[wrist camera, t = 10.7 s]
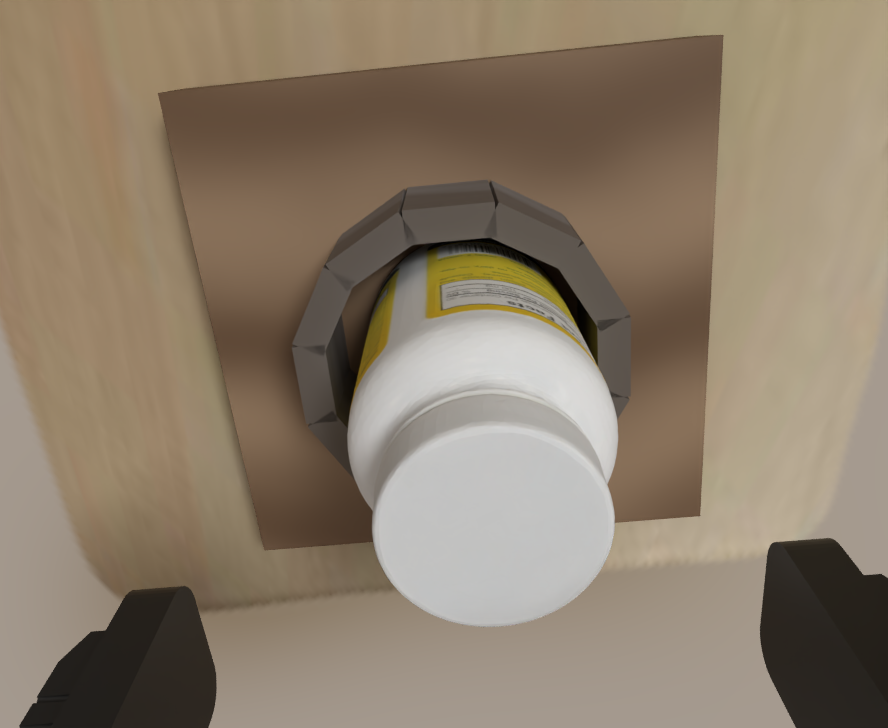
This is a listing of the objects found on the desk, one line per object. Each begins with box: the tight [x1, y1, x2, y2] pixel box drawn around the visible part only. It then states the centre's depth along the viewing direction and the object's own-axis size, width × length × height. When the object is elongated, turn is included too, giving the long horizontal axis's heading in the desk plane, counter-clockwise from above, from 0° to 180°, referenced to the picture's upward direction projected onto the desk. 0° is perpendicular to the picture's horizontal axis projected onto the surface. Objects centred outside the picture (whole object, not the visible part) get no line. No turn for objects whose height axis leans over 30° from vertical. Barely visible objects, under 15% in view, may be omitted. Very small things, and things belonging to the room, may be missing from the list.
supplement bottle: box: [347, 238, 618, 627], centre depth 16 cm, size 5×5×10 cm
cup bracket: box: [158, 35, 723, 550], centre depth 21 cm, size 14×14×5 cm
